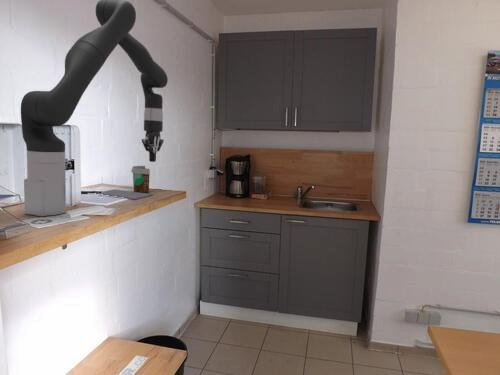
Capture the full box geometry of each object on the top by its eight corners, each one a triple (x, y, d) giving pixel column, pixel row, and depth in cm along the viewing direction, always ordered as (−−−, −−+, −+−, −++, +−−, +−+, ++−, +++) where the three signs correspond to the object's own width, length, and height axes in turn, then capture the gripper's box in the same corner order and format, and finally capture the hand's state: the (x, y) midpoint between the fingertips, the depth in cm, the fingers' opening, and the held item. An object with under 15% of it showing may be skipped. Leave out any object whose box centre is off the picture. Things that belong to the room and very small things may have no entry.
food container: (129, 189, 148) (129, 165, 146) (144, 189, 151) (144, 165, 149) (132, 194, 137) (133, 168, 135) (149, 194, 139) (149, 168, 138)
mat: (134, 199, 127) (134, 198, 127) (93, 194, 132) (93, 193, 132) (153, 195, 138) (153, 194, 138) (114, 190, 143) (114, 189, 143)
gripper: (152, 119, 141) (151, 163, 143) (169, 121, 153) (168, 161, 156) (135, 118, 143) (135, 161, 146) (154, 120, 155) (153, 160, 158)
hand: (152, 161), depth 151 cm, fingers closed
